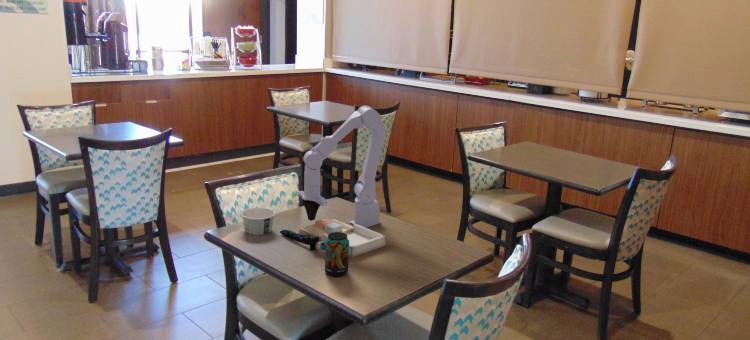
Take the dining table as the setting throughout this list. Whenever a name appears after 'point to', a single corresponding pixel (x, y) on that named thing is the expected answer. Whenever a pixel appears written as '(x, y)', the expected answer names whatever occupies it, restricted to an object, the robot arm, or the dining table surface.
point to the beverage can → (336, 254)
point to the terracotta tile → (322, 223)
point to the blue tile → (333, 227)
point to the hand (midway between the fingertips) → (311, 219)
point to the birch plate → (316, 231)
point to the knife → (304, 239)
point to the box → (362, 240)
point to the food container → (258, 220)
